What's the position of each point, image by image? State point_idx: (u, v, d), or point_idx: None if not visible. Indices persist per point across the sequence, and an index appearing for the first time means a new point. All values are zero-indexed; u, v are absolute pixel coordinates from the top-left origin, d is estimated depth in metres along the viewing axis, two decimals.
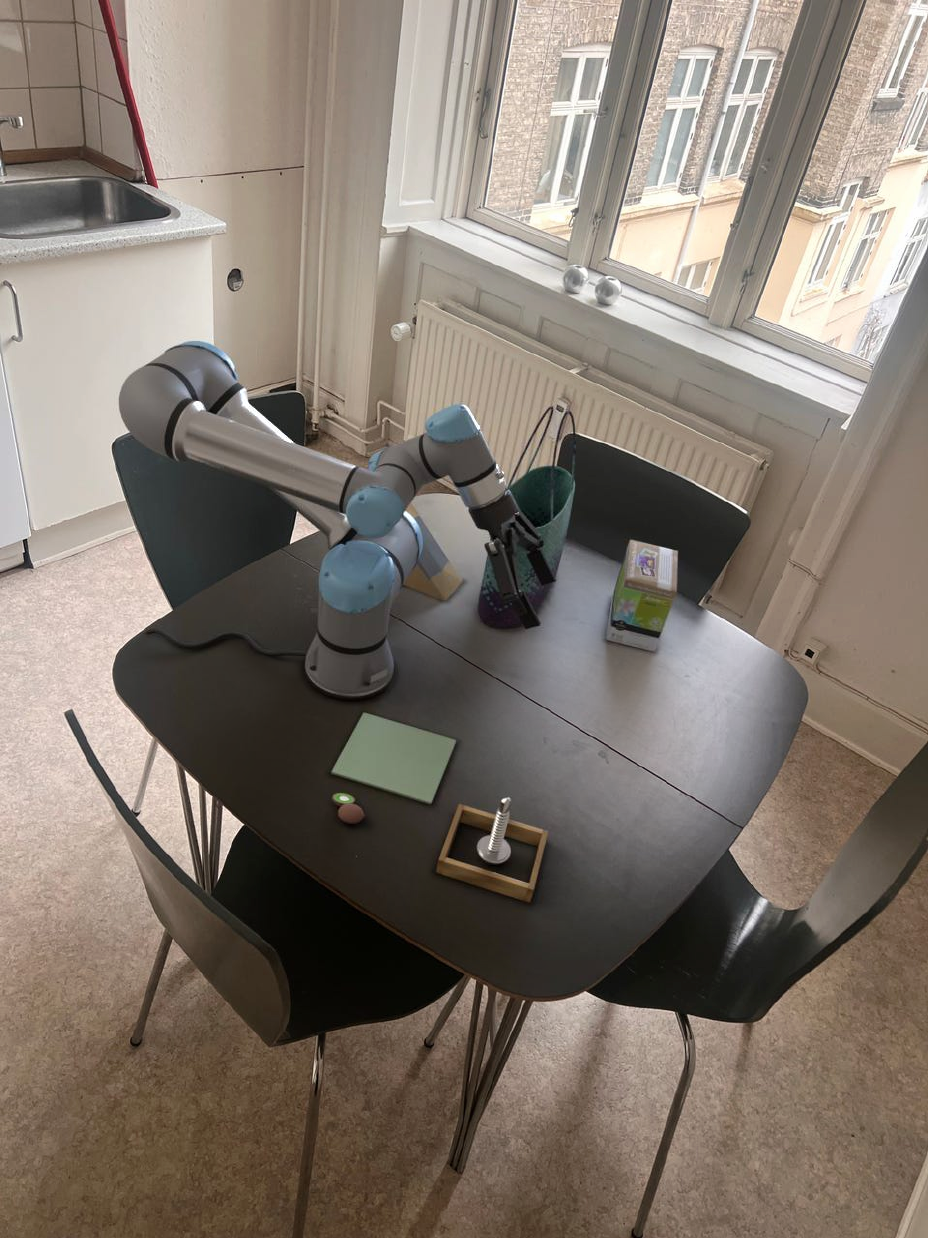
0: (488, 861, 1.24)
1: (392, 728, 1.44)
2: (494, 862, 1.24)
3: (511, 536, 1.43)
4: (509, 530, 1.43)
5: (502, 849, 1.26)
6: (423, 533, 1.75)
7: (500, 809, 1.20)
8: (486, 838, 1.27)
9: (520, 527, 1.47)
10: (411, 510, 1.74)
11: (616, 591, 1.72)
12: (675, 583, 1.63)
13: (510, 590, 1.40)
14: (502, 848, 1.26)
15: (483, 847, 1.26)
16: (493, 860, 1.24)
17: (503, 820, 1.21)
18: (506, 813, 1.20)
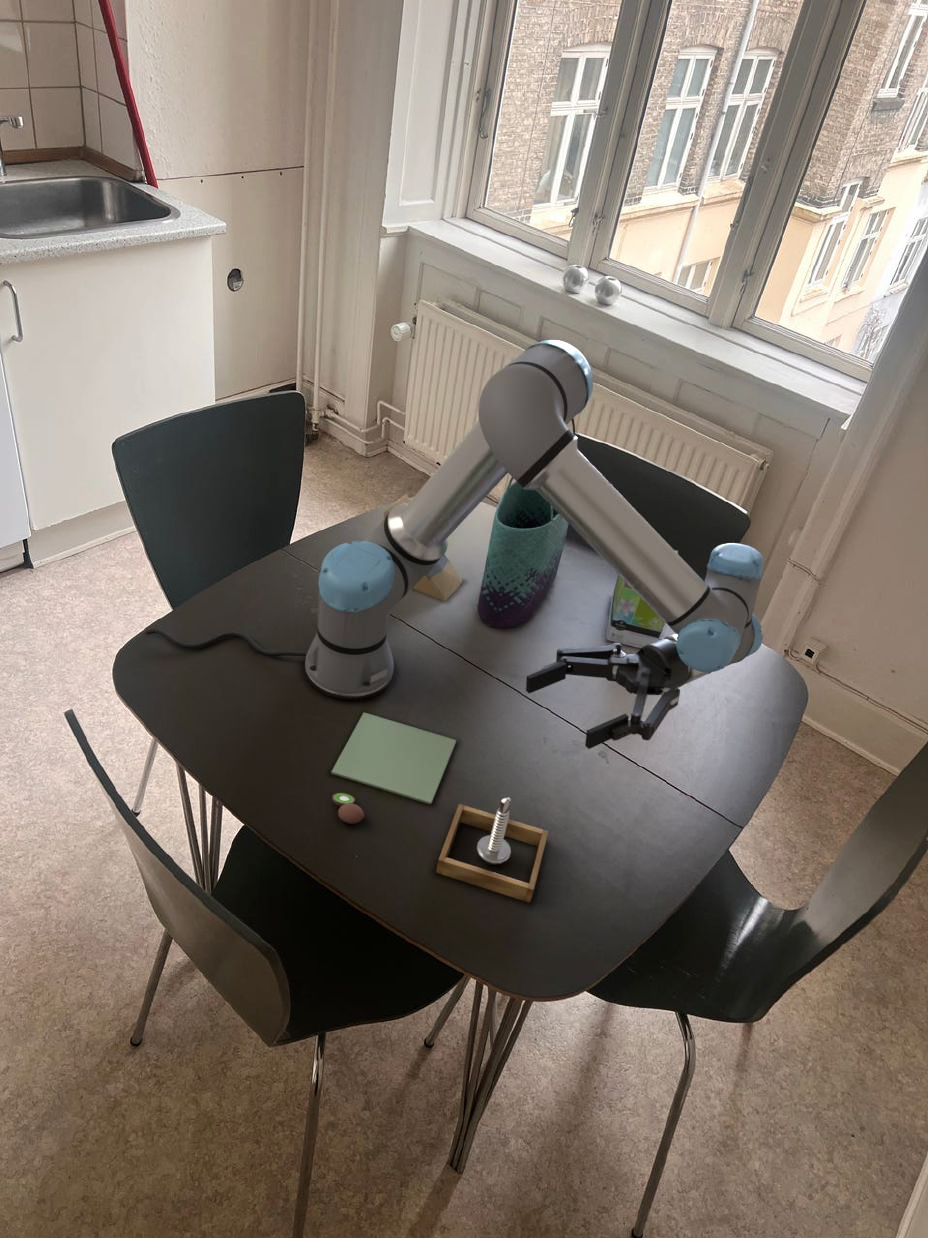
0: (488, 861, 1.24)
1: (392, 728, 1.44)
2: (494, 862, 1.24)
3: None
4: None
5: (502, 849, 1.26)
6: None
7: (500, 809, 1.20)
8: (486, 838, 1.27)
9: None
10: None
11: (616, 591, 1.72)
12: None
13: (653, 732, 1.19)
14: (502, 848, 1.26)
15: (483, 847, 1.26)
16: (493, 860, 1.24)
17: (503, 820, 1.21)
18: (506, 813, 1.20)
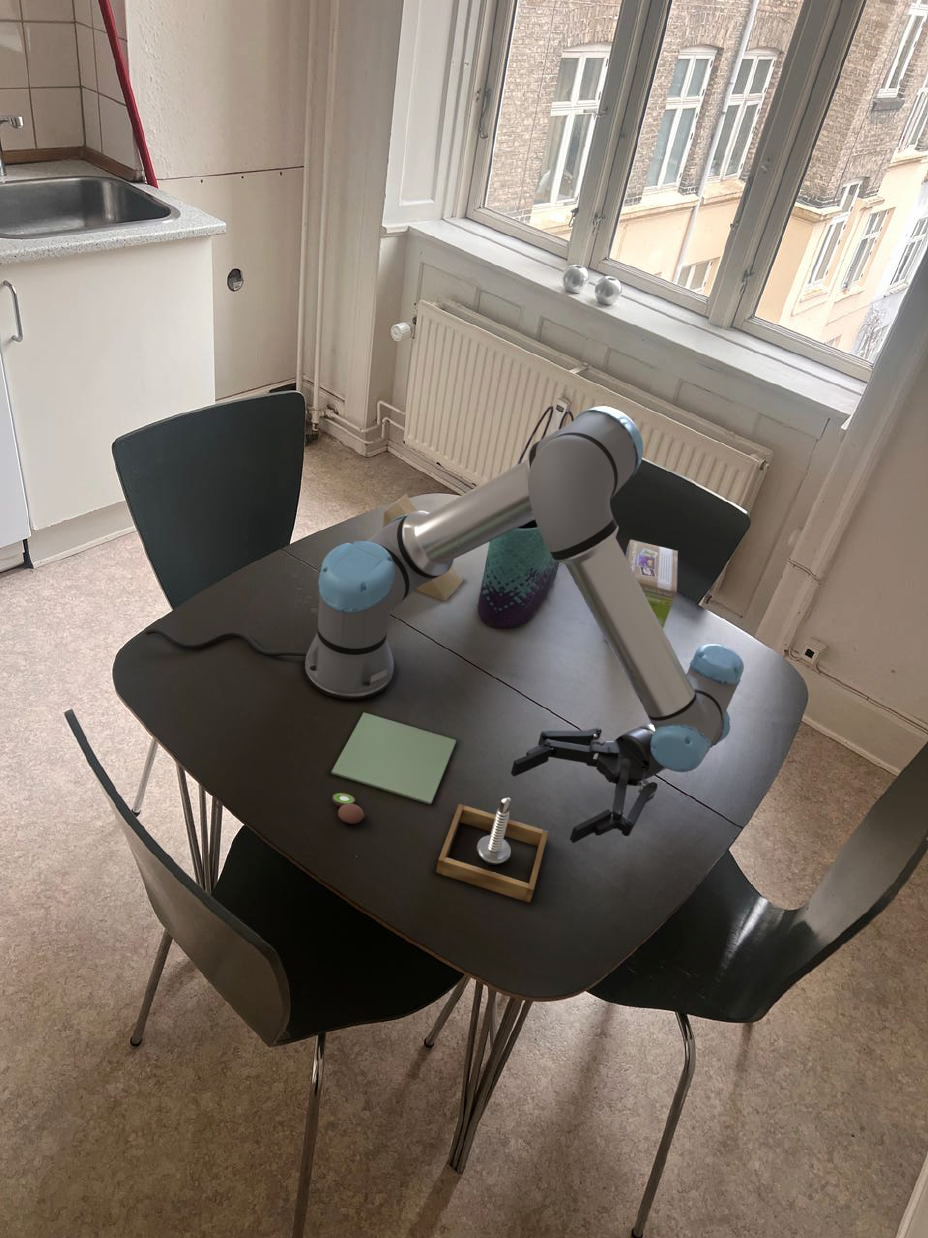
0: (488, 861, 1.24)
1: (392, 728, 1.44)
2: (494, 862, 1.24)
3: None
4: None
5: (502, 849, 1.26)
6: None
7: (500, 809, 1.20)
8: (486, 838, 1.27)
9: None
10: (411, 510, 1.74)
11: None
12: (675, 583, 1.63)
13: (632, 828, 1.25)
14: (502, 848, 1.26)
15: (483, 847, 1.26)
16: (493, 860, 1.24)
17: (503, 820, 1.21)
18: (506, 813, 1.20)
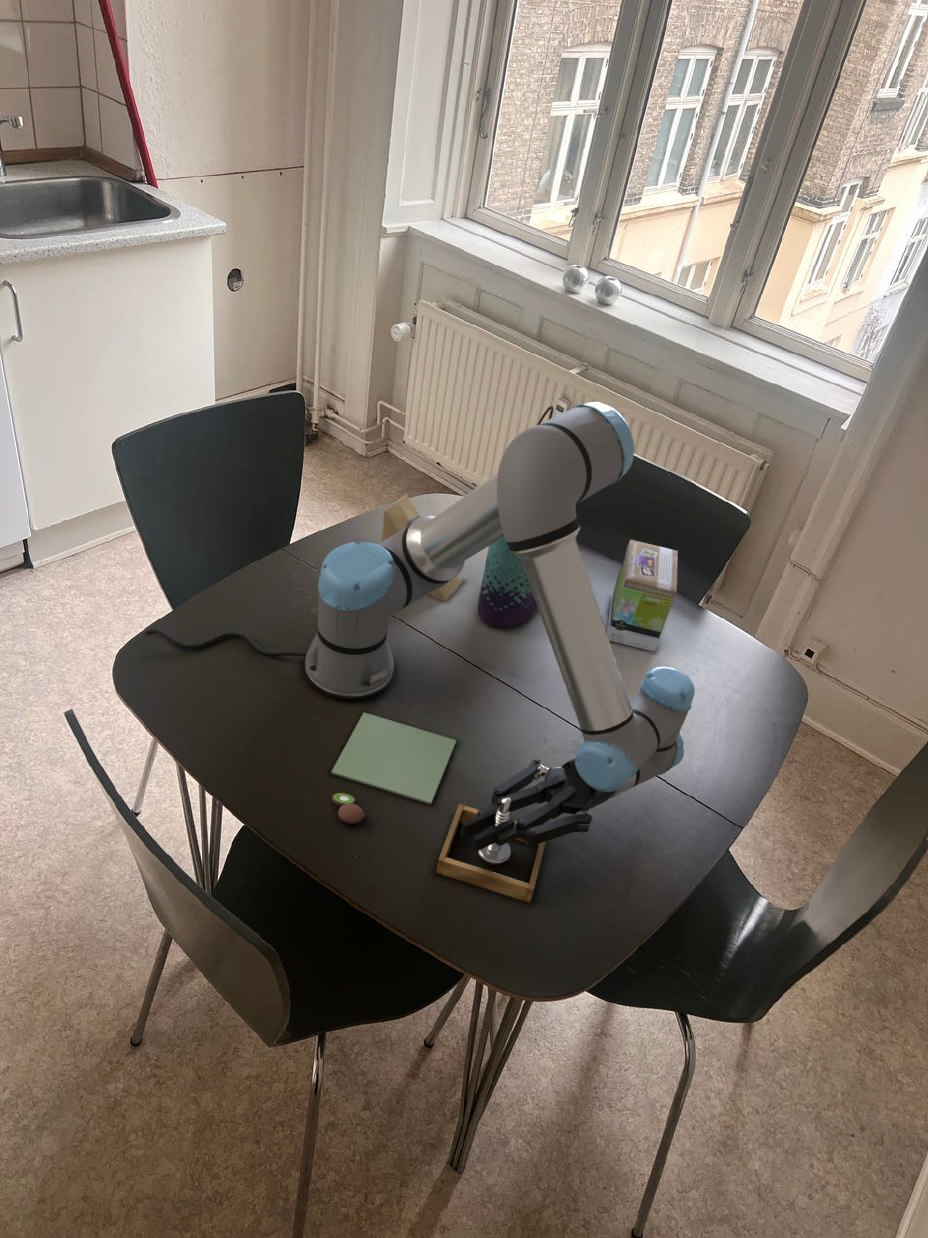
0: (488, 861, 1.24)
1: (392, 728, 1.44)
2: (494, 862, 1.24)
3: None
4: None
5: (502, 849, 1.26)
6: None
7: (500, 809, 1.20)
8: None
9: None
10: (411, 510, 1.74)
11: (616, 591, 1.72)
12: (675, 583, 1.63)
13: (538, 842, 1.22)
14: (502, 848, 1.26)
15: None
16: (493, 860, 1.24)
17: (503, 820, 1.21)
18: (506, 813, 1.20)
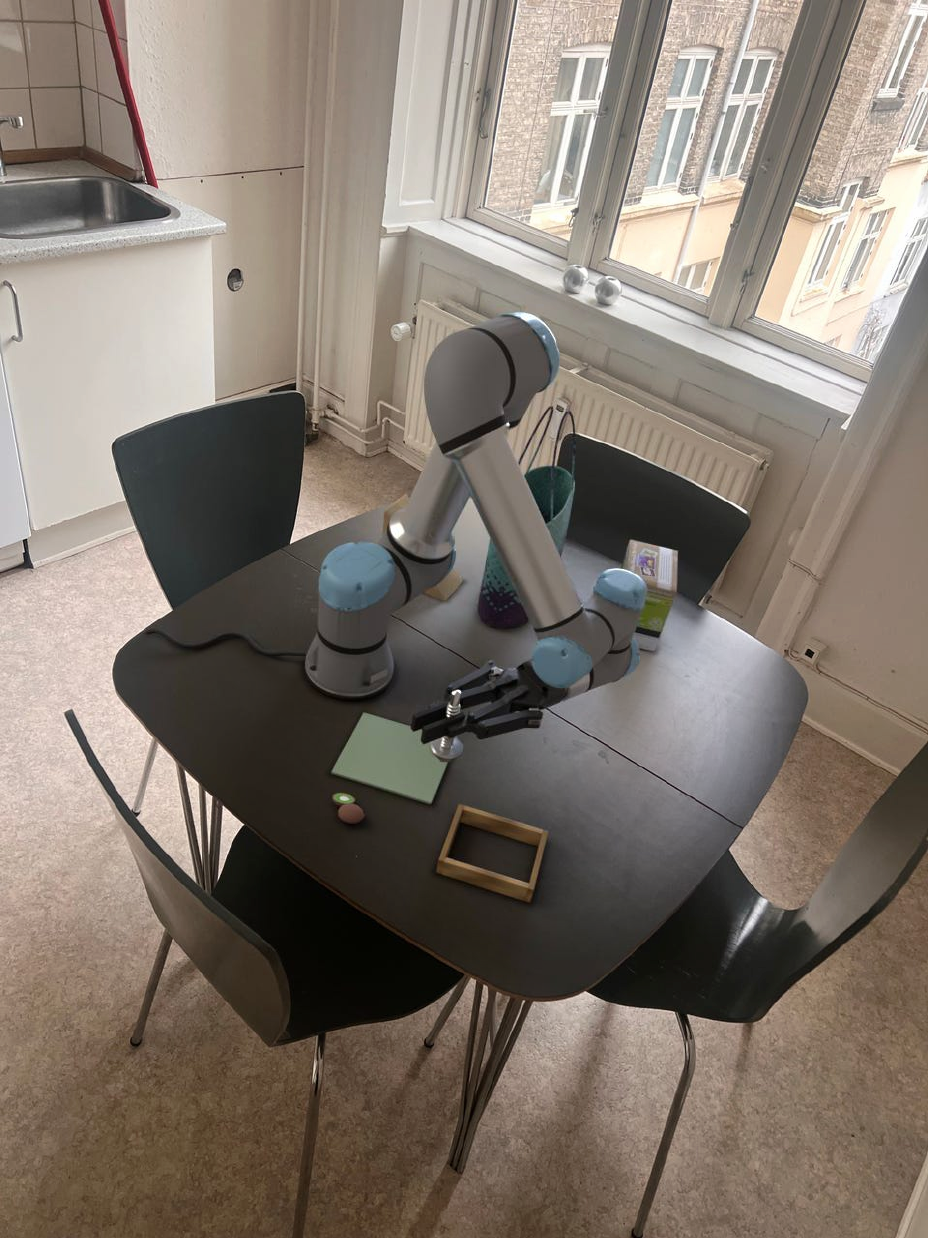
0: (440, 756, 1.25)
1: (392, 728, 1.44)
2: (446, 757, 1.25)
3: None
4: None
5: (454, 746, 1.27)
6: None
7: (451, 702, 1.21)
8: None
9: None
10: None
11: None
12: (675, 583, 1.63)
13: (488, 735, 1.22)
14: (454, 745, 1.27)
15: (435, 743, 1.26)
16: (445, 756, 1.25)
17: (454, 713, 1.22)
18: (457, 706, 1.21)
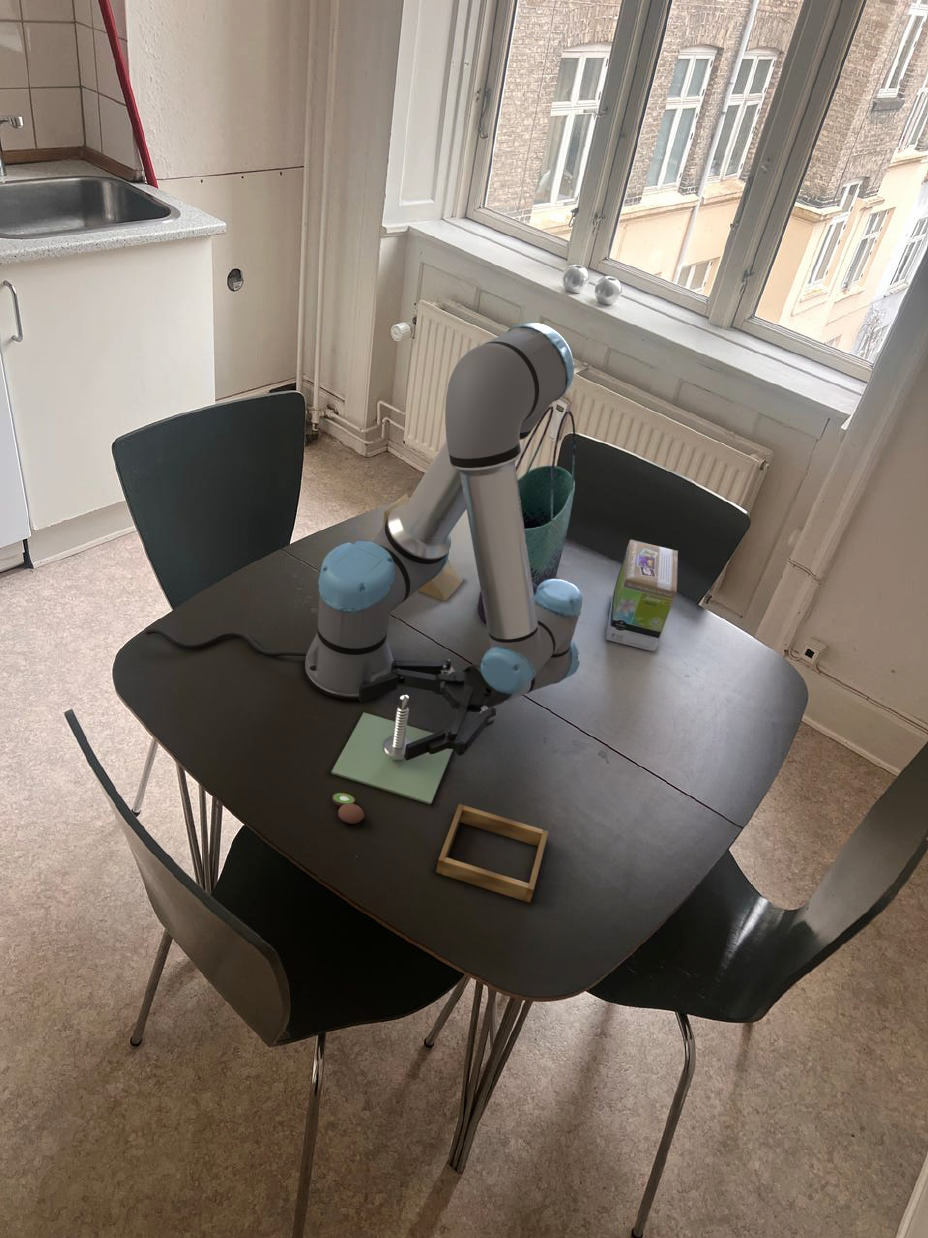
0: (391, 756, 1.36)
1: (392, 728, 1.44)
2: (397, 757, 1.36)
3: None
4: None
5: (405, 746, 1.38)
6: None
7: (399, 706, 1.32)
8: (391, 737, 1.39)
9: None
10: None
11: (616, 591, 1.72)
12: (675, 583, 1.63)
13: (467, 748, 1.32)
14: (405, 745, 1.38)
15: (387, 744, 1.38)
16: (396, 755, 1.36)
17: (402, 716, 1.33)
18: (405, 709, 1.32)
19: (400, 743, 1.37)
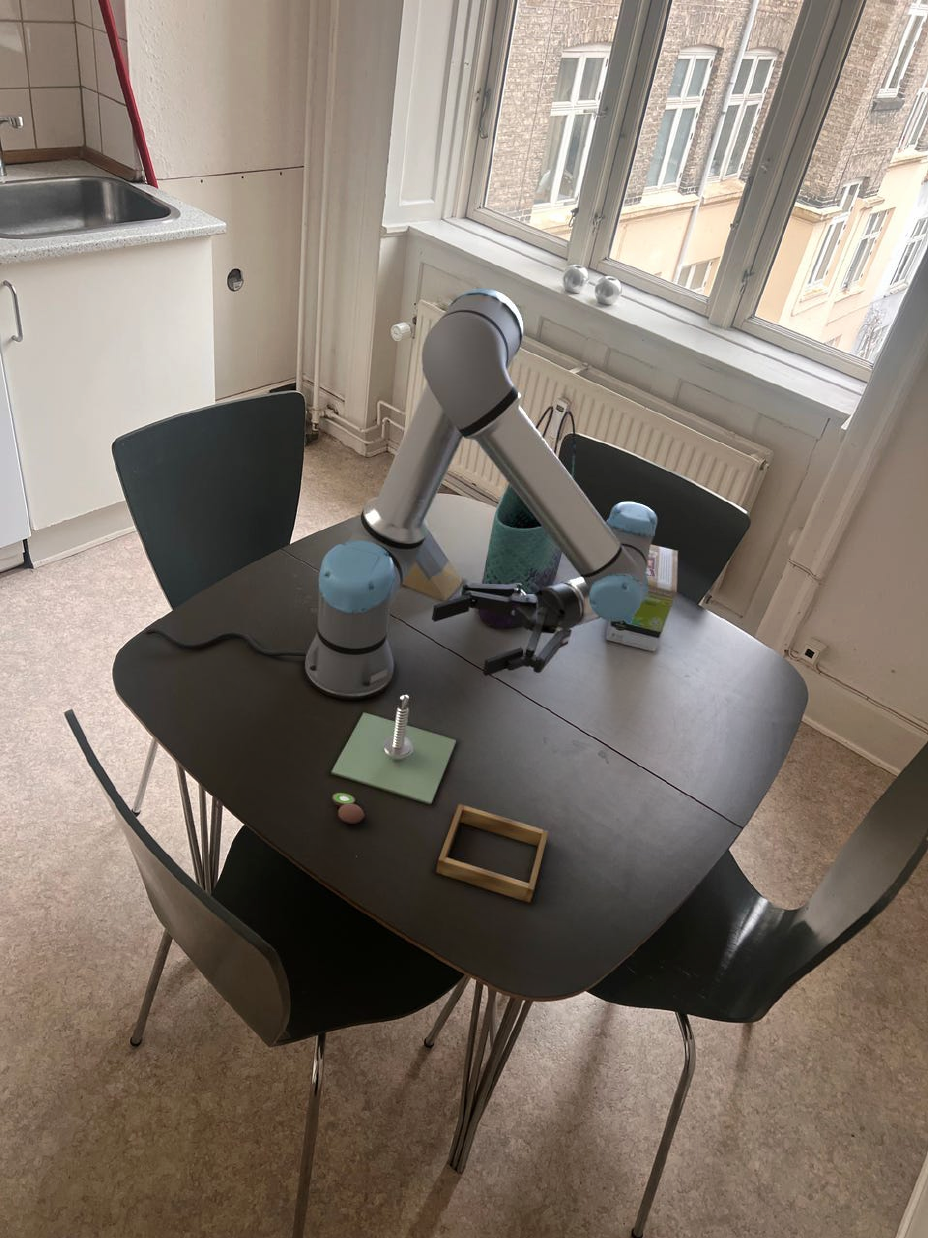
0: (391, 756, 1.36)
1: (392, 728, 1.44)
2: (397, 757, 1.36)
3: None
4: None
5: (405, 746, 1.38)
6: None
7: (399, 706, 1.32)
8: (391, 737, 1.39)
9: None
10: None
11: None
12: (675, 583, 1.63)
13: (544, 666, 1.31)
14: (405, 745, 1.38)
15: (387, 744, 1.38)
16: (396, 755, 1.36)
17: (402, 716, 1.33)
18: (405, 709, 1.32)
19: (400, 743, 1.37)
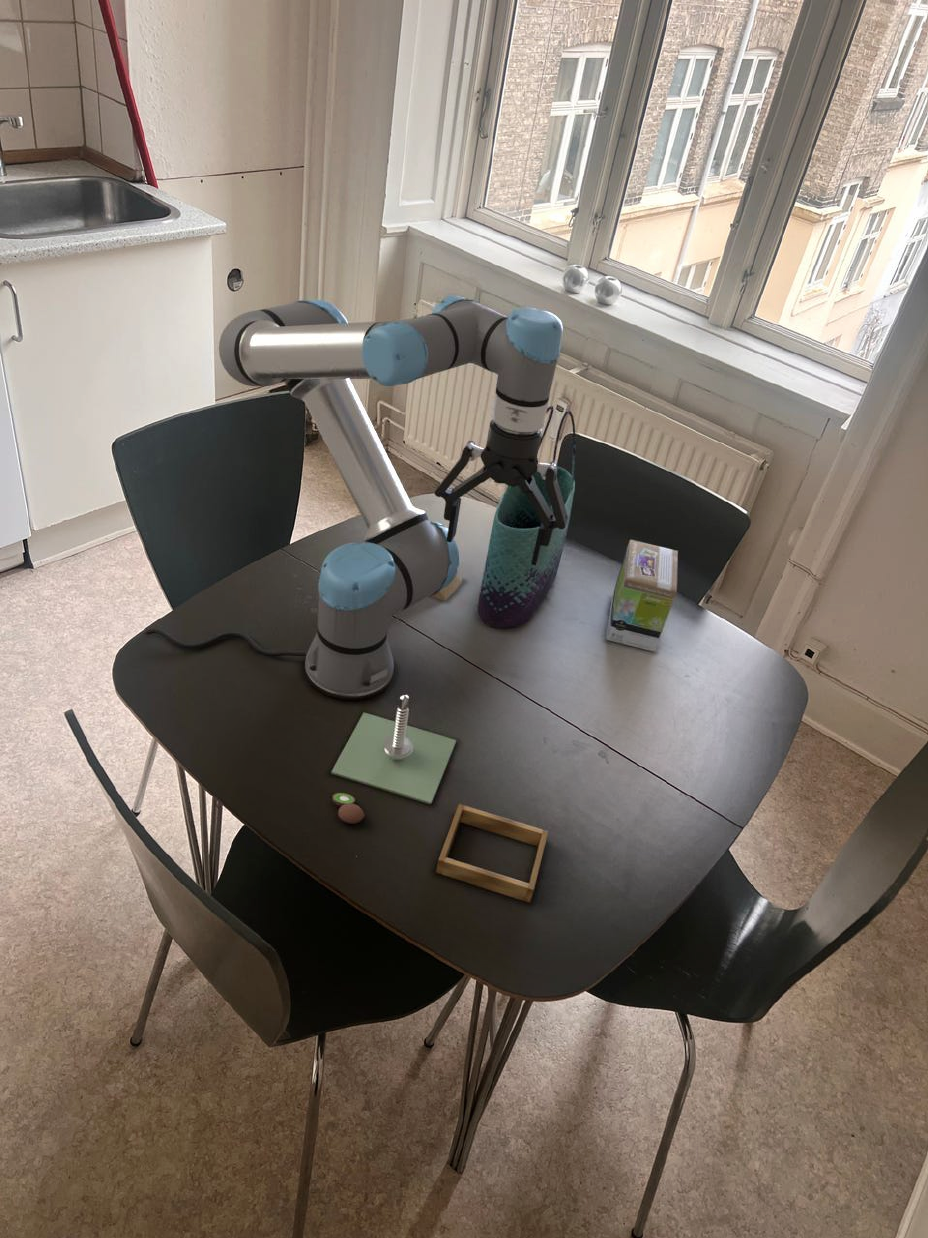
0: (391, 756, 1.36)
1: (392, 728, 1.44)
2: (397, 757, 1.36)
3: (490, 467, 1.28)
4: (497, 463, 1.28)
5: (405, 746, 1.38)
6: None
7: (399, 706, 1.32)
8: (391, 737, 1.39)
9: (521, 481, 1.28)
10: None
11: (616, 591, 1.72)
12: (675, 583, 1.63)
13: (439, 485, 1.33)
14: (405, 745, 1.38)
15: (387, 744, 1.38)
16: (396, 755, 1.36)
17: (402, 716, 1.33)
18: (405, 709, 1.32)
19: (400, 743, 1.37)
